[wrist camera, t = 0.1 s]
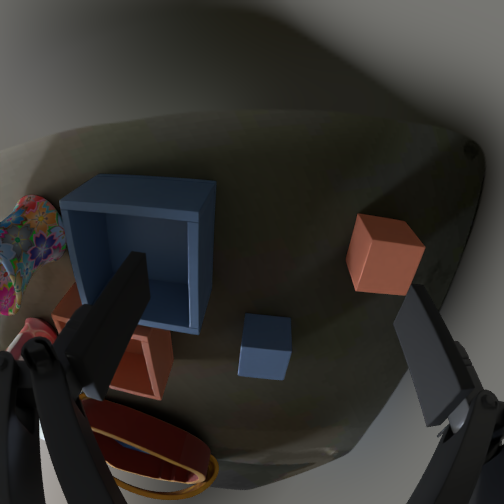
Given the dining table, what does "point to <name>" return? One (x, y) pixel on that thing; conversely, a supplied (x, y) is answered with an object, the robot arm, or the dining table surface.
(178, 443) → the decorative basket
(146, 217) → the slate bin
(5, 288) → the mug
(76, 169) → the dining table surface
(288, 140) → the dining table surface
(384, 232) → the terracotta block
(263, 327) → the slate block
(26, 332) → the liquor
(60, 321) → the terracotta bin
